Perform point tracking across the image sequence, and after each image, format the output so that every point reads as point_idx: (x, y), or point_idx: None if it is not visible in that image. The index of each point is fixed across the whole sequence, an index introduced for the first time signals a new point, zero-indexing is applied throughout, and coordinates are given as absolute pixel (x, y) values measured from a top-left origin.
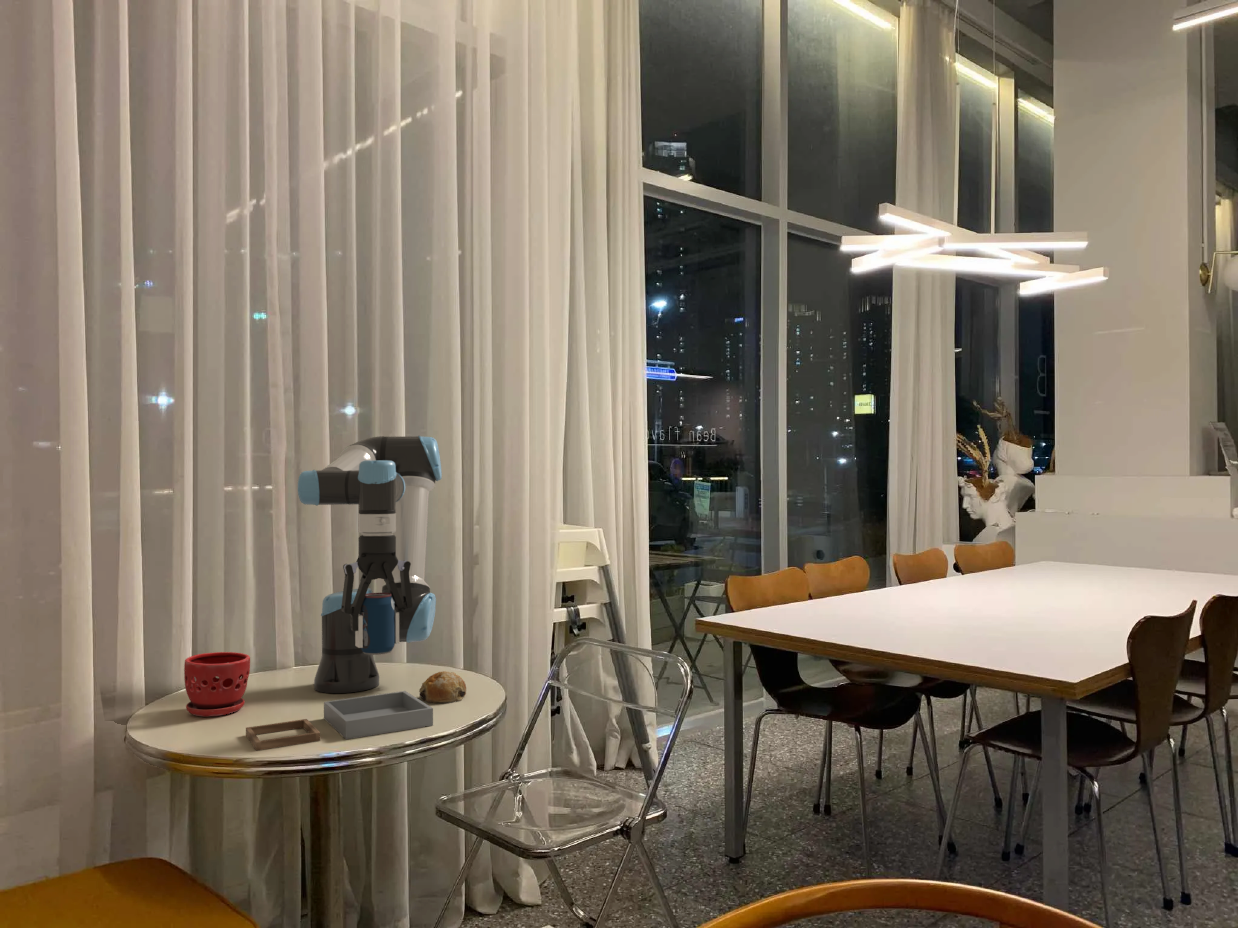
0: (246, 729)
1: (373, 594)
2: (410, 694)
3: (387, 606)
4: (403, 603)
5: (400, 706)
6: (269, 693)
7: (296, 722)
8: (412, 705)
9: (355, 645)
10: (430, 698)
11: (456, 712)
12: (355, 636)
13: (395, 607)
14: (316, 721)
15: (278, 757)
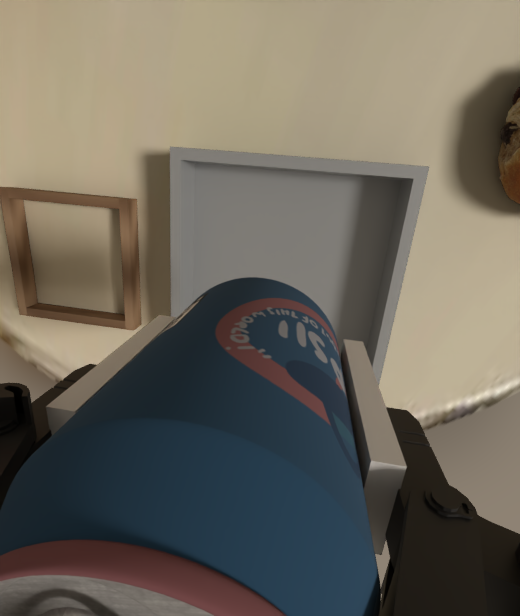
0: (2, 197)
1: (133, 557)
2: (413, 227)
3: None
4: (495, 603)
5: (394, 180)
6: None
7: (105, 207)
8: (388, 269)
9: (158, 317)
10: (501, 179)
11: (480, 317)
12: (137, 335)
13: (405, 517)
14: (165, 169)
15: (63, 369)
